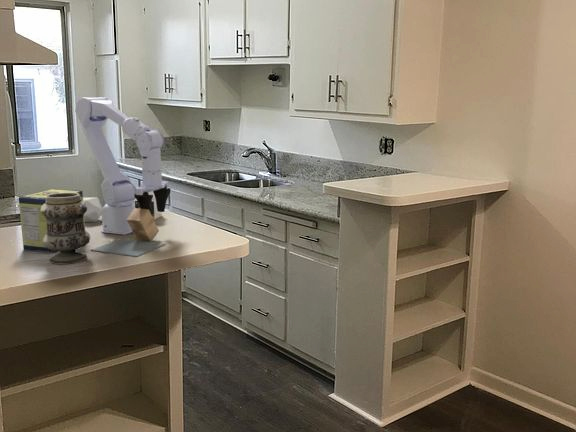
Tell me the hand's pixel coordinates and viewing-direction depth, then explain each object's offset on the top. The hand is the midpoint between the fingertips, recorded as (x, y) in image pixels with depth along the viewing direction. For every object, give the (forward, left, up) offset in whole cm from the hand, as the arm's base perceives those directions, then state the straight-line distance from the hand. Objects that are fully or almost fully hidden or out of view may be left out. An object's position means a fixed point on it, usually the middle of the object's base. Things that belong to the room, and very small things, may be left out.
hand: (153, 214), depth 184 cm
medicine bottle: (-18, +22, -8) cm, 29 cm away
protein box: (-22, -19, -8) cm, 30 cm away
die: (-34, +10, -8) cm, 36 cm away
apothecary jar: (-8, -29, -8) cm, 31 cm away
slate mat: (0, -13, -7) cm, 15 cm away
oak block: (0, -3, -6) cm, 7 cm away
